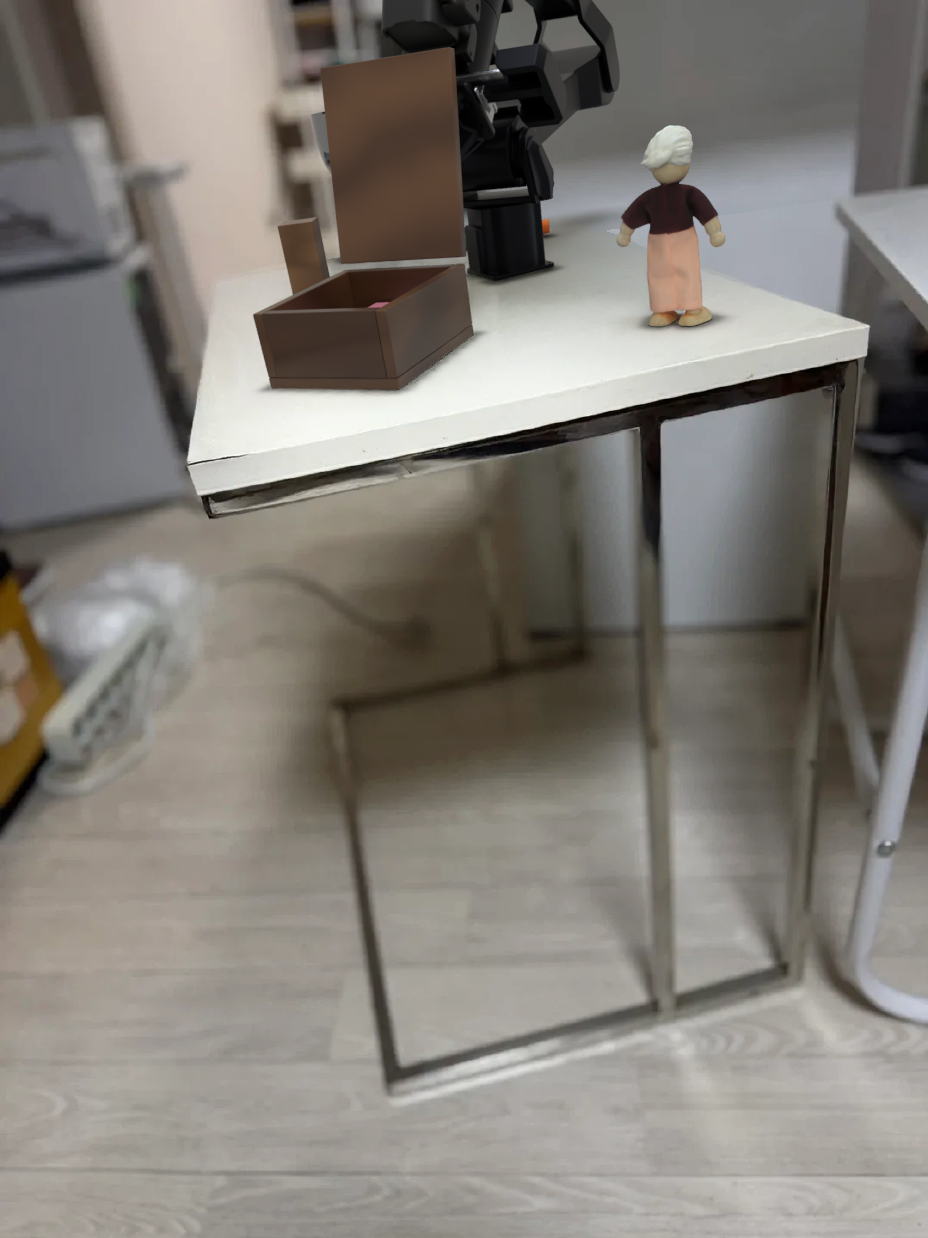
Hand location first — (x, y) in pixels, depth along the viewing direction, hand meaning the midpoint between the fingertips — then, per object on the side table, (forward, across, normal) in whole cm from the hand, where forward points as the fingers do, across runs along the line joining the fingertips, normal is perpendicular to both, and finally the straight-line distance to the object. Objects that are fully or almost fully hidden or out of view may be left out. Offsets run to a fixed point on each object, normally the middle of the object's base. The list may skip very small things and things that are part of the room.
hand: (425, 192), depth 72 cm
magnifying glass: (-14, -9, +28) cm, 32 cm away
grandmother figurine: (+9, +20, +5) cm, 23 cm away
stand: (+1, -19, +13) cm, 23 cm away
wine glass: (-12, -22, +26) cm, 37 cm away
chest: (+15, 0, -2) cm, 15 cm away
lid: (+1, 0, -5) cm, 5 cm away
